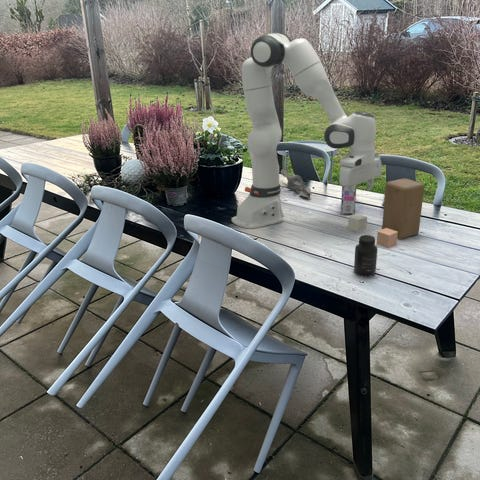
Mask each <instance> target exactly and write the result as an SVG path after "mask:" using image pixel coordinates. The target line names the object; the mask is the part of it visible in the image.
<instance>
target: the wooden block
mask: <svg viewBox="0 0 480 480" xmlns="http://www.w3.org/2000/svg"><path fill="white" fill-rule="evenodd" d="M398 179H399V178H398ZM424 194H425V184H424V183H422V182H419V181H415V180H412V179H410V178H406V177H405V178H400V179H399V180H395V179H394V180H389V181H387V182H386V183H385V191H384V202H383V213H382V223H381V230H382V229H385V228H388V229H391V230H394V231H397V232H398V236H397V240H403V239H405V238H409V237H413V236H416V235H418V234H419V233H420V225H421V218H422V217H421V215H422V209H423V202H424V201H423V200H424Z"/></svg>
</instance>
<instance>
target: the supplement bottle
mask: <svg viewBox="0 0 480 480" xmlns="http://www.w3.org/2000/svg"><path fill="white" fill-rule="evenodd" d="M377 261H378V247H377V245H376V238H375V236H373V235H368V234H364V235H360V236H359V237H358V243H357V244H356V246H355V249H354V262H353V263H354V264H353V266H354V267H353V272H355V274H356V275H359V276H361V277H371V276H373V275H375V274H376V271H377Z"/></svg>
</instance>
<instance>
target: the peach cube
mask: <svg viewBox="0 0 480 480" xmlns="http://www.w3.org/2000/svg"><path fill="white" fill-rule="evenodd" d="M397 236H398V232H397V231H394V230H391V229H388V228H385V229H382V228H381V230H378V231H377V233H376V242H375V245H379V246H381V247H383V248H386V249H389V248H392V247H394V246H397V244H398V238H397Z"/></svg>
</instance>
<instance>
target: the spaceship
mask: <svg viewBox="0 0 480 480" xmlns="http://www.w3.org/2000/svg"><path fill="white" fill-rule="evenodd" d="M280 174H281V176H282V177H283V178H286V179H287V184H286V185H287V188H288V189H289V190H291V191H295V193H296V194H297V195H299V196H303V197H306V198H311V196H312V191H311V188H310V187H307V186H306V185H305V184H304V183H305V181H303V178H302V177H301V176H300V175H298V174H293V173H291V174H288V172H287V171H286V170H285V169H283V168H282V169H280Z"/></svg>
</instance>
